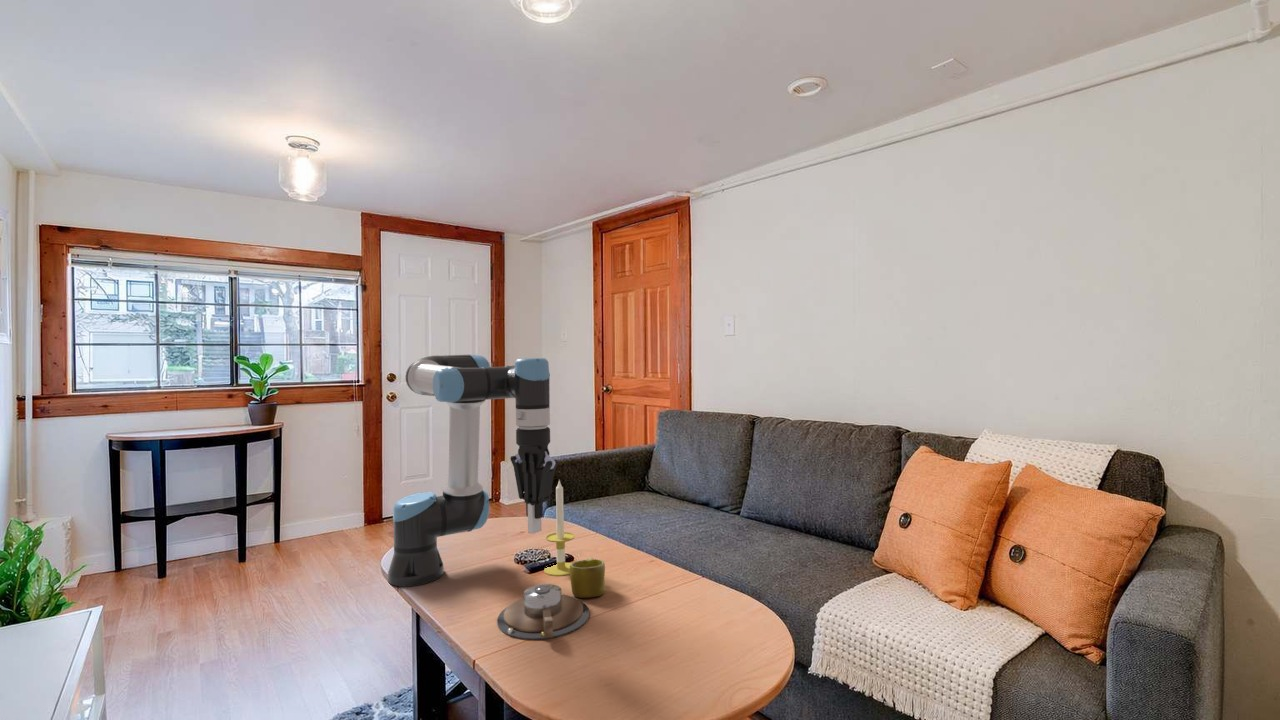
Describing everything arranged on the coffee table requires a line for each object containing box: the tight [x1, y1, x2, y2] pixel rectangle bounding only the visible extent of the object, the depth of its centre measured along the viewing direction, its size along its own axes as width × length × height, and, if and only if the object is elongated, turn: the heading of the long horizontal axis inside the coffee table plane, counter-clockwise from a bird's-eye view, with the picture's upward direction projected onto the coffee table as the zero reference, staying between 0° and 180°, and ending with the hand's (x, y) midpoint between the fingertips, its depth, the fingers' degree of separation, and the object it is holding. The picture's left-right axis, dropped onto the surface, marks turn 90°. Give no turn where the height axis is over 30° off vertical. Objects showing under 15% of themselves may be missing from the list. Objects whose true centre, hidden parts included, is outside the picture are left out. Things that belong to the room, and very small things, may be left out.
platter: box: [504, 593, 583, 639], centre depth 136 cm, size 19×24×5 cm
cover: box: [523, 583, 562, 618], centre depth 138 cm, size 9×9×5 cm
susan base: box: [497, 599, 590, 641], centre depth 138 cm, size 22×22×1 cm
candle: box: [543, 479, 576, 577], centre depth 169 cm, size 10×10×27 cm
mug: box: [569, 557, 606, 599], centre depth 153 cm, size 12×10×10 cm
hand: (534, 531), depth 128 cm, fingers closed
